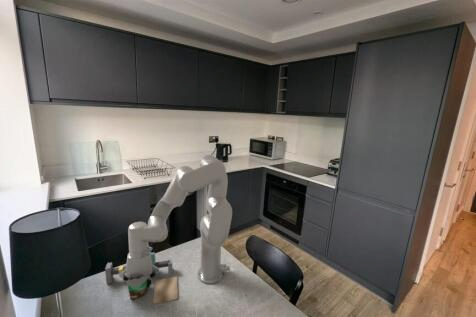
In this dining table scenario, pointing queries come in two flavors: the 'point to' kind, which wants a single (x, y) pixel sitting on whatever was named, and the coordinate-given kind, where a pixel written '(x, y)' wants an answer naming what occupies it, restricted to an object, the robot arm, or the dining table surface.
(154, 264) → the sleeve
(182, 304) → the dining table surface
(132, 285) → the food container
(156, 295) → the mat
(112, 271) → the rail
